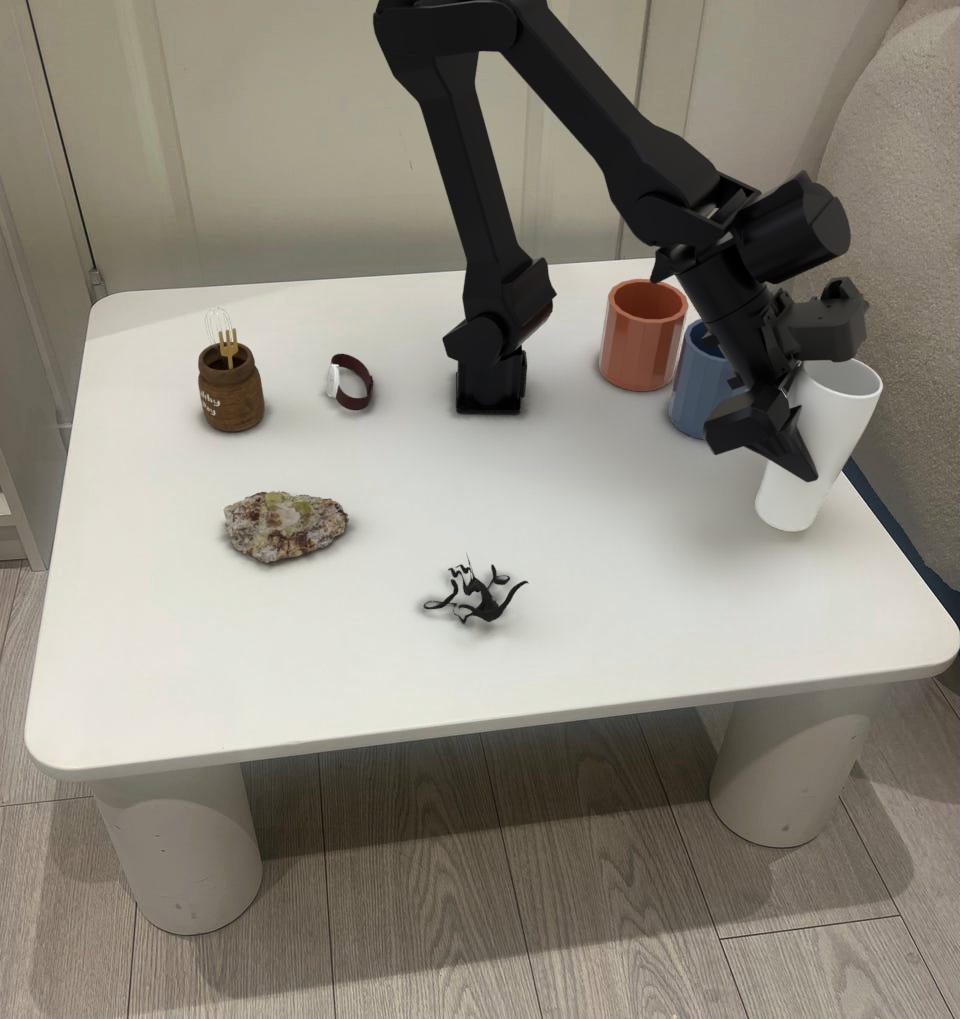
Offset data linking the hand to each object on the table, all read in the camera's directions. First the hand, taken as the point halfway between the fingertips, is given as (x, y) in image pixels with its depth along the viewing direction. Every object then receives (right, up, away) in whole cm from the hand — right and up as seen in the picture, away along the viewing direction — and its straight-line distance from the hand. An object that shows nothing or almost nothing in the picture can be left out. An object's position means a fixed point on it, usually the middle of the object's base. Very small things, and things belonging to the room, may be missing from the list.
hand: (826, 457), depth 86 cm
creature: (-30, -12, -2) cm, 33 cm away
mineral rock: (-46, -7, +3) cm, 47 cm away
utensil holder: (-54, +5, +14) cm, 56 cm away
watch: (-43, +7, +18) cm, 47 cm away
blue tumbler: (-7, +5, +17) cm, 19 cm away
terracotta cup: (-13, +11, +22) cm, 28 cm away
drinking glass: (-2, -5, +5) cm, 8 cm away
